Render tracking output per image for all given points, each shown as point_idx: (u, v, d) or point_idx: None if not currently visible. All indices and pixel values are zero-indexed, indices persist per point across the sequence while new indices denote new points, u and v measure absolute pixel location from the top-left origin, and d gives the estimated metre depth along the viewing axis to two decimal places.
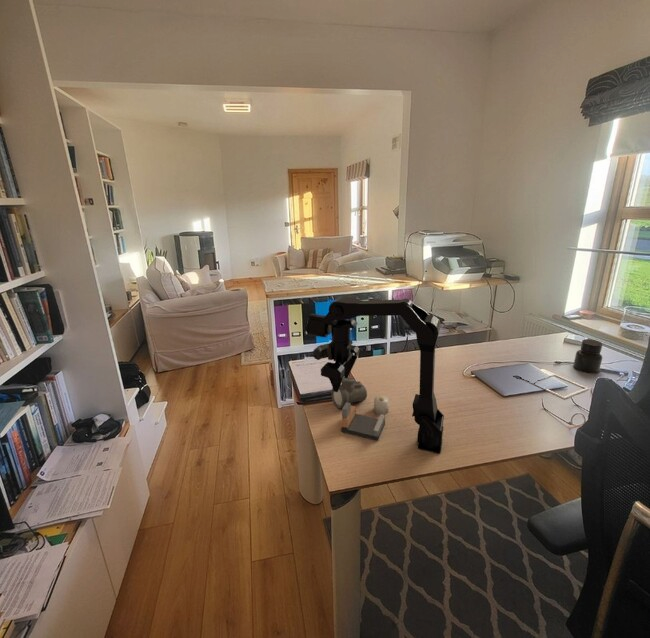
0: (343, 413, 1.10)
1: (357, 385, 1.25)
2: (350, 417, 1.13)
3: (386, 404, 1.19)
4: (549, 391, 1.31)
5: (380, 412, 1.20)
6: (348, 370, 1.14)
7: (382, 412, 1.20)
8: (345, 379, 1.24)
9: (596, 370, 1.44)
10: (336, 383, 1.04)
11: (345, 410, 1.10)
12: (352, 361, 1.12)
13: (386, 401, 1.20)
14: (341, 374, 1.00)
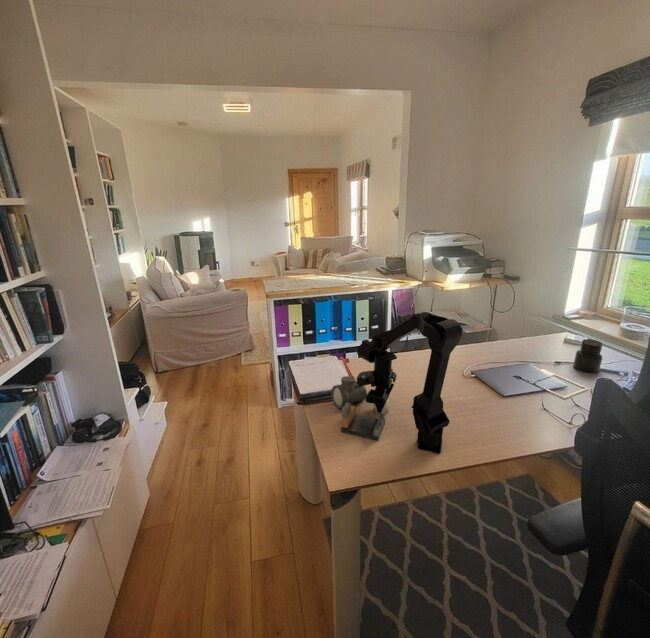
0: (343, 413, 1.10)
1: (357, 385, 1.25)
2: (350, 417, 1.13)
3: (386, 404, 1.19)
4: (549, 391, 1.31)
5: None
6: None
7: (382, 412, 1.20)
8: (345, 379, 1.24)
9: (596, 370, 1.44)
10: (380, 405, 1.17)
11: (345, 410, 1.10)
12: (389, 389, 1.22)
13: None
14: (385, 401, 1.11)
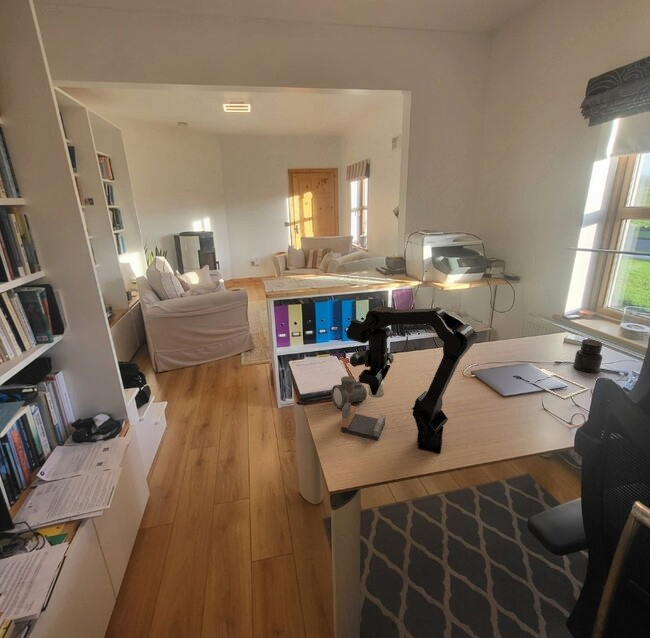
0: (343, 413, 1.10)
1: (357, 385, 1.25)
2: (350, 417, 1.13)
3: (381, 386, 1.11)
4: (549, 391, 1.31)
5: None
6: None
7: (377, 394, 1.12)
8: (345, 379, 1.24)
9: (596, 370, 1.44)
10: (375, 386, 1.09)
11: (345, 410, 1.10)
12: (385, 371, 1.14)
13: (381, 383, 1.12)
14: (379, 381, 1.03)
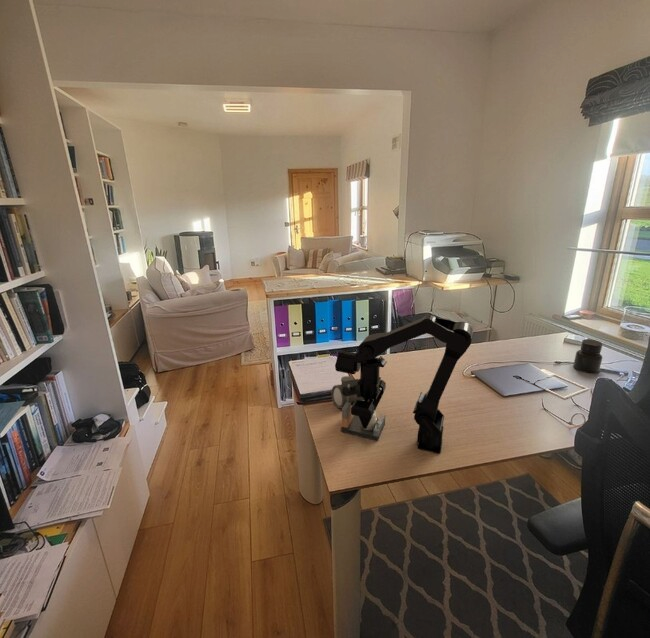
0: (343, 413, 1.10)
1: None
2: (350, 417, 1.13)
3: (373, 418, 1.09)
4: (549, 391, 1.31)
5: (367, 427, 1.10)
6: (375, 405, 1.14)
7: (369, 427, 1.10)
8: (345, 379, 1.24)
9: (596, 370, 1.44)
10: (365, 420, 1.05)
11: (345, 410, 1.10)
12: (379, 396, 1.13)
13: (373, 415, 1.10)
14: (371, 413, 1.01)
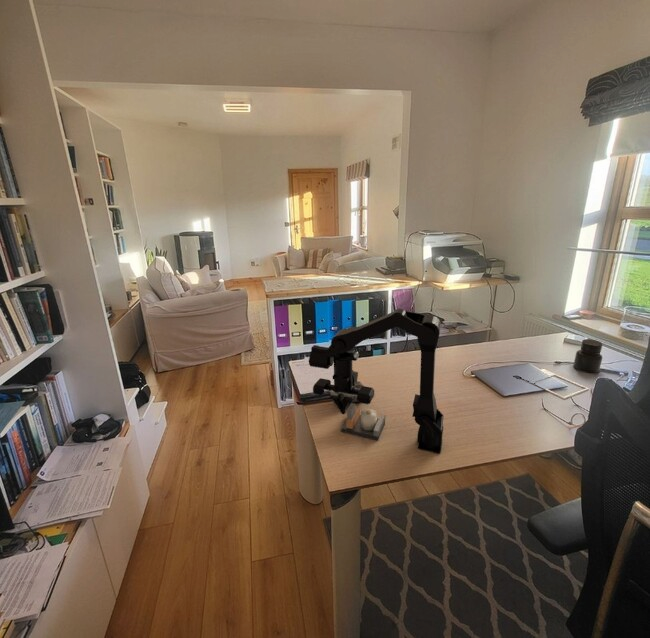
0: (348, 414, 1.10)
1: (357, 385, 1.25)
2: (355, 418, 1.12)
3: (374, 418, 1.09)
4: (549, 391, 1.31)
5: (367, 427, 1.10)
6: None
7: (369, 427, 1.10)
8: None
9: (596, 370, 1.44)
10: None
11: (350, 411, 1.09)
12: None
13: (374, 415, 1.10)
14: (315, 391, 1.10)
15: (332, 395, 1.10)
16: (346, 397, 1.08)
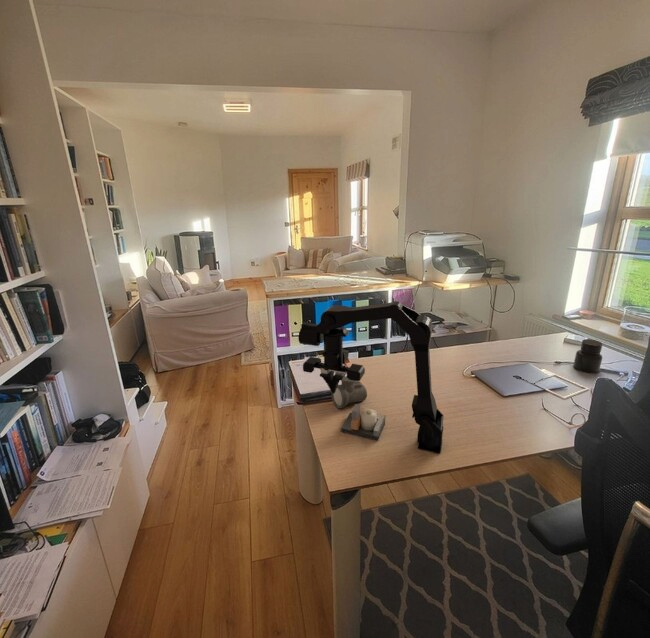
0: (353, 415, 1.09)
1: (357, 385, 1.25)
2: (360, 419, 1.11)
3: (374, 418, 1.09)
4: (549, 391, 1.31)
5: (367, 427, 1.10)
6: None
7: (370, 427, 1.10)
8: (345, 379, 1.24)
9: (596, 370, 1.44)
10: None
11: (355, 412, 1.08)
12: None
13: (374, 415, 1.10)
14: (305, 369, 1.09)
15: (322, 373, 1.08)
16: (336, 375, 1.07)
